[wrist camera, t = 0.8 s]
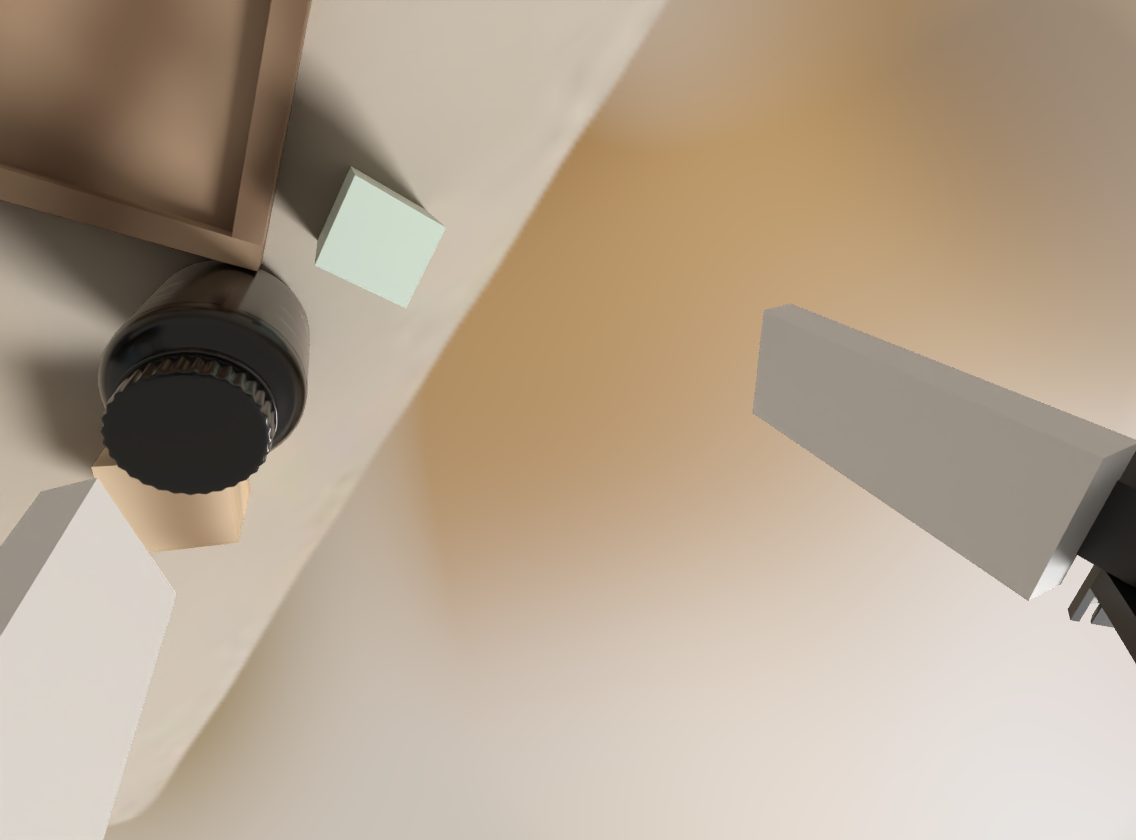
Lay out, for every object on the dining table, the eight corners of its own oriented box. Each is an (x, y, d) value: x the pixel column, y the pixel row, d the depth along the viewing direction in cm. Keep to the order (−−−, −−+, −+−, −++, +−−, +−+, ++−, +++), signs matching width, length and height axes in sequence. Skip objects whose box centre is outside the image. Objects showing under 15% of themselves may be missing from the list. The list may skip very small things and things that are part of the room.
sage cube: (317, 240, 27) (314, 265, 22) (350, 165, 26) (354, 175, 21) (393, 277, 29) (405, 308, 24) (426, 210, 28) (446, 227, 23)
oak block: (146, 497, 30) (117, 556, 26) (126, 416, 28) (91, 467, 24) (250, 488, 32) (238, 542, 28) (239, 412, 30) (224, 458, 25)
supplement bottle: (187, 398, 28) (111, 543, 18) (129, 266, 25) (-3, 359, 15) (327, 373, 30) (325, 492, 20) (290, 248, 27) (267, 319, 17)
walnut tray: (-126, 151, 20) (-166, 153, 19) (-145, -293, 16) (-198, -340, 15) (261, 262, 27) (257, 271, 25) (319, -39, 23) (318, -52, 21)
